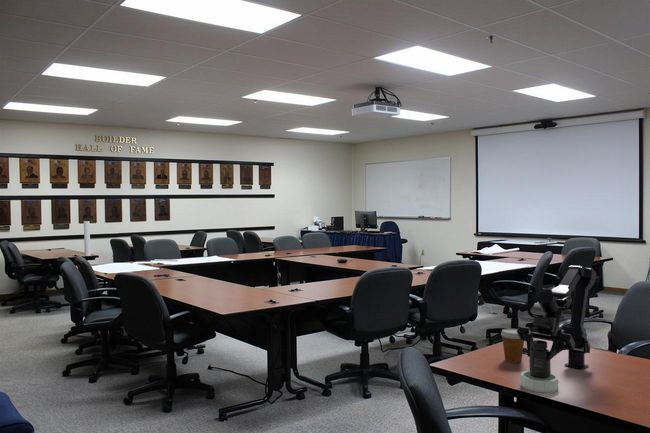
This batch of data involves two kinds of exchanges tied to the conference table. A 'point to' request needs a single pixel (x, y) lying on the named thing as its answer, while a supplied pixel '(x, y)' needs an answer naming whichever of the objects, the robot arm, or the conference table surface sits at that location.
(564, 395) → the conference table surface
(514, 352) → the disposable coffee cup
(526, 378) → the ring stand
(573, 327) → the robot arm
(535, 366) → the supplement bottle
